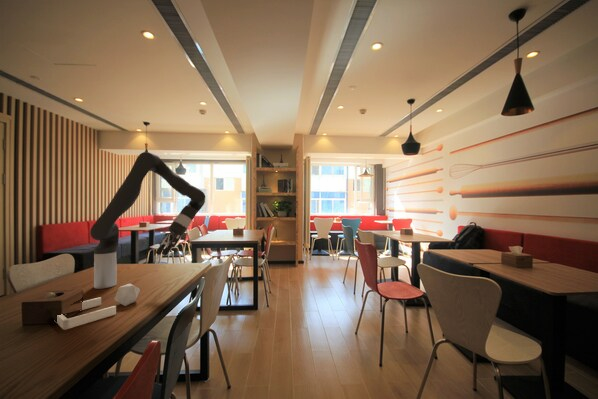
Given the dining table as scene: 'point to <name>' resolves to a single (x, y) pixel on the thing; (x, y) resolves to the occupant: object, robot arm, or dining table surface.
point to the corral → (88, 317)
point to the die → (127, 294)
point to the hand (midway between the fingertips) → (160, 254)
